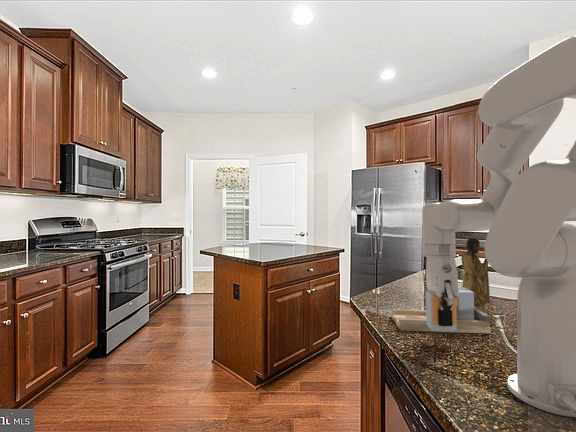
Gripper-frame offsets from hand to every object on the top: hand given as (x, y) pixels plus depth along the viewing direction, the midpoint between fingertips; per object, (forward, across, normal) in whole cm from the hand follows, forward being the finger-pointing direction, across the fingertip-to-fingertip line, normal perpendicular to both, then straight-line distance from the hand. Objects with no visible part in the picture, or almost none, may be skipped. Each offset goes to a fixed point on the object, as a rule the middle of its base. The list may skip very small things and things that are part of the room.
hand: (441, 321), depth 82 cm
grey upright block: (+2, 0, 0) cm, 2 cm away
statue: (+5, +27, -20) cm, 34 cm away
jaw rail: (+5, +14, -4) cm, 15 cm away
